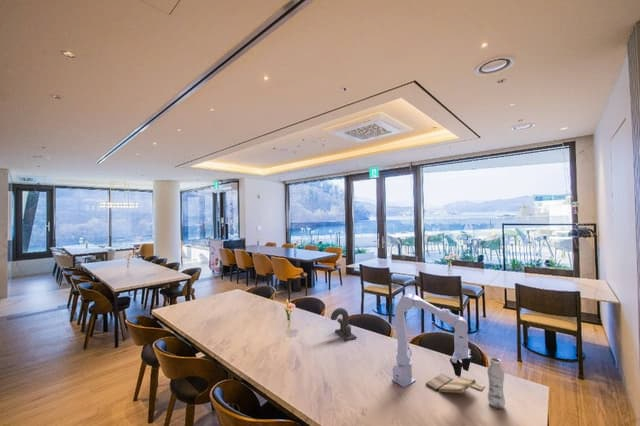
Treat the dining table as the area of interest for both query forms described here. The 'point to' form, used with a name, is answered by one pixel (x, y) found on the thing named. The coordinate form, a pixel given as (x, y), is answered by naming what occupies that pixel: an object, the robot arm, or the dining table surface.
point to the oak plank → (457, 386)
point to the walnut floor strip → (438, 381)
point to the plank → (476, 385)
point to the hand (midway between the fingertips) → (461, 373)
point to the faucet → (343, 324)
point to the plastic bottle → (496, 384)
